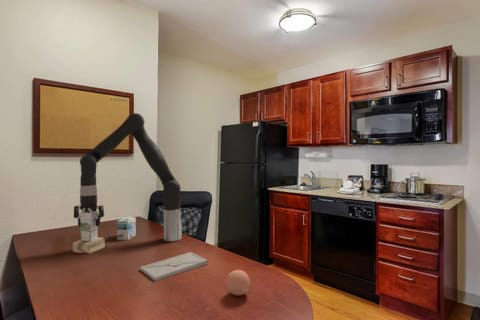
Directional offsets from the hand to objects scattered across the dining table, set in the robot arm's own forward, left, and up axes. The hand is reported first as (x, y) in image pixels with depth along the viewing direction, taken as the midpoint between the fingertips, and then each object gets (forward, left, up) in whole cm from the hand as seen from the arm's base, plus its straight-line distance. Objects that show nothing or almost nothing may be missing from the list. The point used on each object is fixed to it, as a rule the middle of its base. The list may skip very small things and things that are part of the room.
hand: (89, 226), depth 137 cm
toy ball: (-77, +45, -12) cm, 90 cm away
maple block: (0, 0, -12) cm, 12 cm away
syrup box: (0, 0, -7) cm, 7 cm away
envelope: (-49, +22, -13) cm, 56 cm away
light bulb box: (-10, -21, -12) cm, 26 cm away
